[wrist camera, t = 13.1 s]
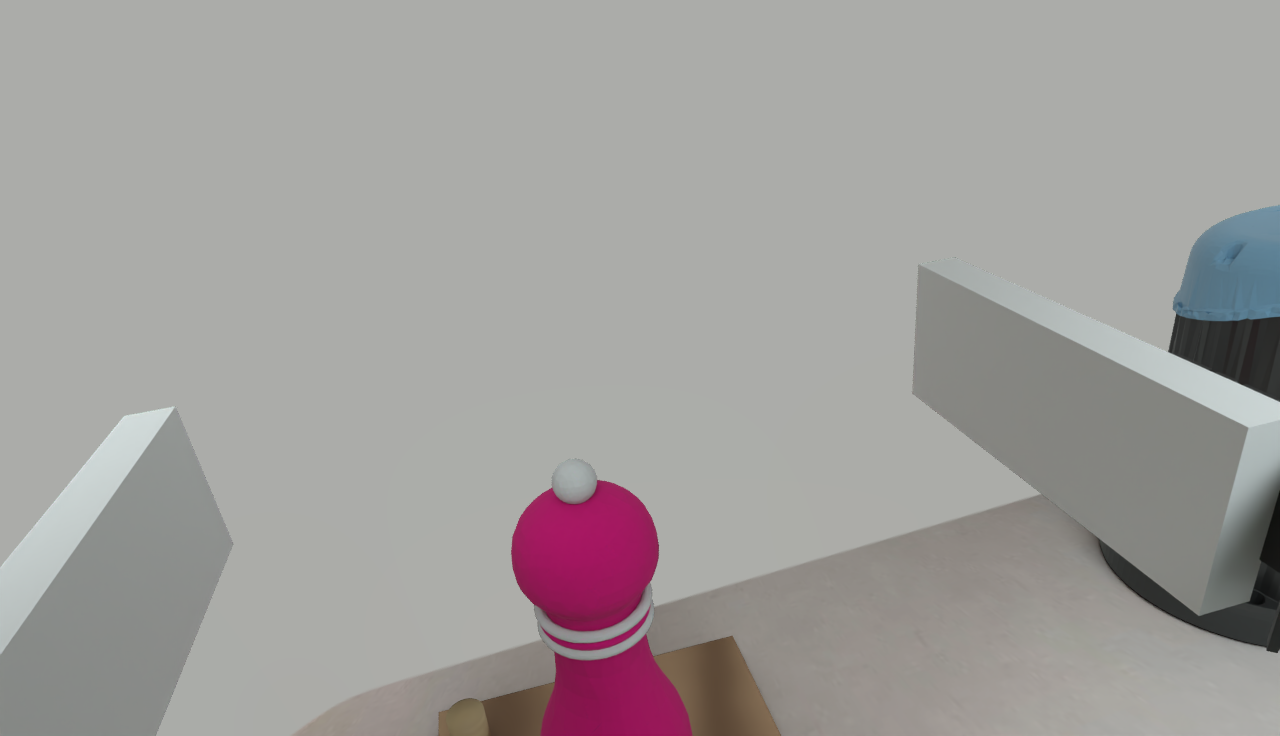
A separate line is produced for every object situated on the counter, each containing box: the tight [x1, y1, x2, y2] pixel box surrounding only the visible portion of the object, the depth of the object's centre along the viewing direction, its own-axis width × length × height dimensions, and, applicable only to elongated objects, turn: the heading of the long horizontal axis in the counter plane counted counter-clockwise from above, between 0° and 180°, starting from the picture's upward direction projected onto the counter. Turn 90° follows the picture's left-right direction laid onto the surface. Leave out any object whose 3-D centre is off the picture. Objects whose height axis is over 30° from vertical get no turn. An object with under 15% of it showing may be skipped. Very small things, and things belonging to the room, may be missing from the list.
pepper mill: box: [511, 459, 693, 736], centre depth 34 cm, size 7×7×20 cm
